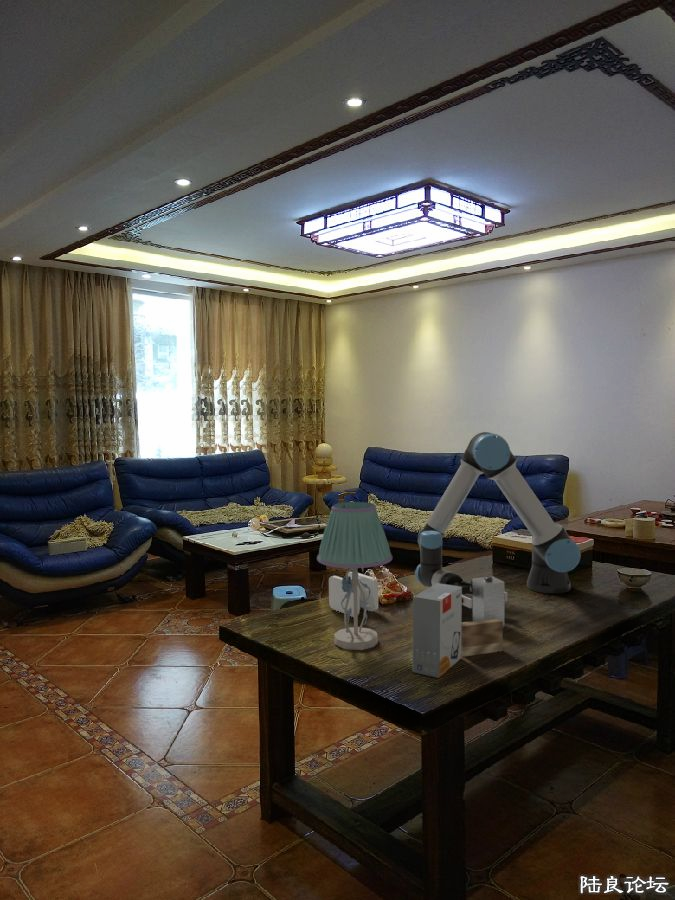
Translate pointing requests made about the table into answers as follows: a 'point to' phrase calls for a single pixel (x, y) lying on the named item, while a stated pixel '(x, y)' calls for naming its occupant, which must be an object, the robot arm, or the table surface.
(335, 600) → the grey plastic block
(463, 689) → the table surface
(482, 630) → the dock
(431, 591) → the hard drive box
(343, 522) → the table lamp
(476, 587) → the block
